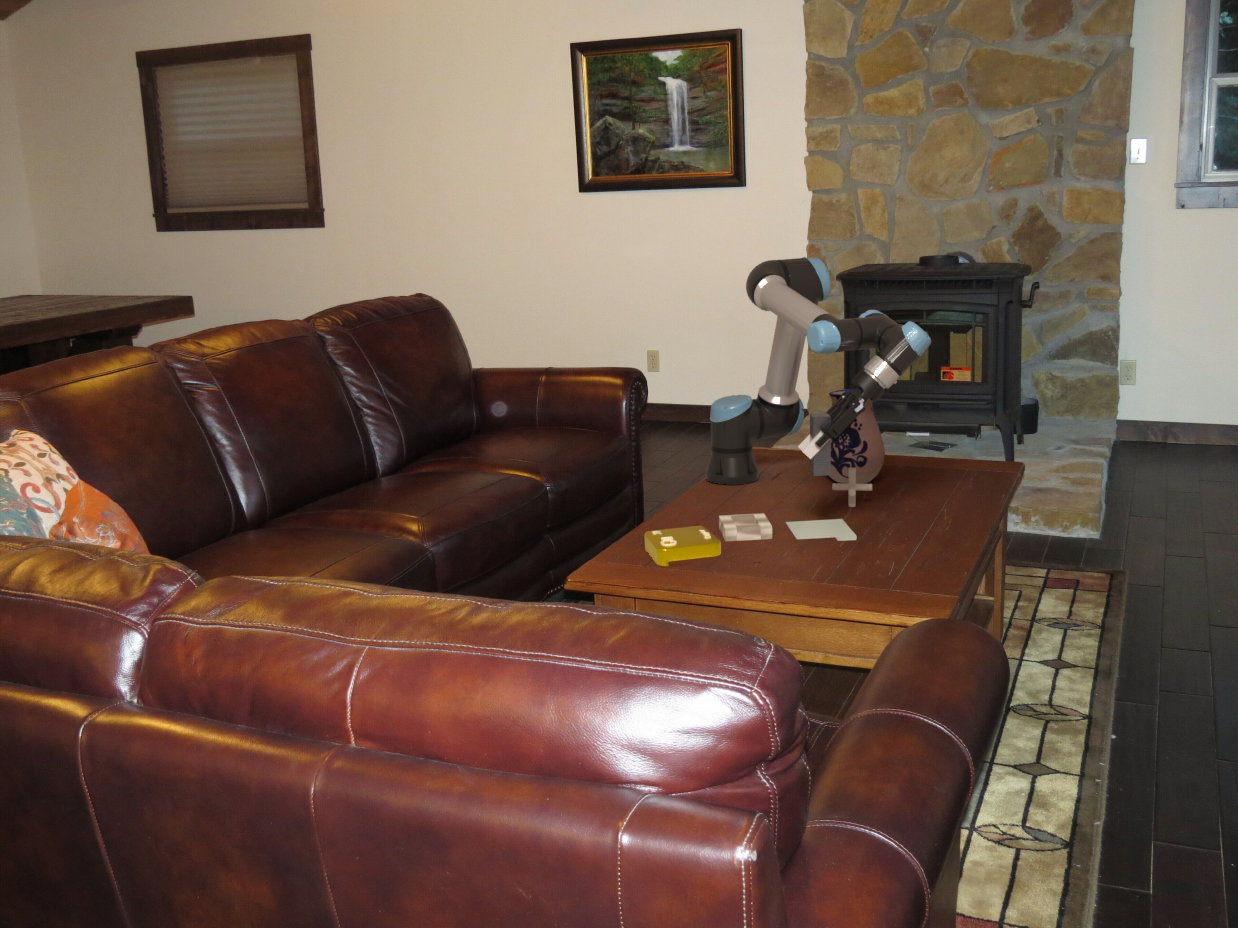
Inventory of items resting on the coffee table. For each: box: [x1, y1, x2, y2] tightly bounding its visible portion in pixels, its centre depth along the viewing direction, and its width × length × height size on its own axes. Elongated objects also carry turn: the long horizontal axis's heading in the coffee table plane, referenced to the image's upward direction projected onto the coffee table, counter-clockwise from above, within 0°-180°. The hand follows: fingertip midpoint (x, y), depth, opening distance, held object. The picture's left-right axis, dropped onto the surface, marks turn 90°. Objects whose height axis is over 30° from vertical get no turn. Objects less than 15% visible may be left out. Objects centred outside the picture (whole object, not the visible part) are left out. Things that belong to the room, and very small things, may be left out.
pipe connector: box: [831, 468, 873, 508], centre depth 289 cm, size 10×10×10 cm
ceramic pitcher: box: [828, 388, 886, 484], centre depth 312 cm, size 18×21×25 cm
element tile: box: [644, 525, 722, 567], centre depth 258 cm, size 15×15×5 cm
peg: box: [809, 412, 831, 477], centre depth 264 cm, size 4×4×14 cm
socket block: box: [718, 512, 773, 542], centre depth 268 cm, size 11×11×4 cm
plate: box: [785, 518, 858, 542], centre depth 269 cm, size 14×14×1 cm
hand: (804, 452), depth 264 cm, fingers closed on peg, 4 cm apart
